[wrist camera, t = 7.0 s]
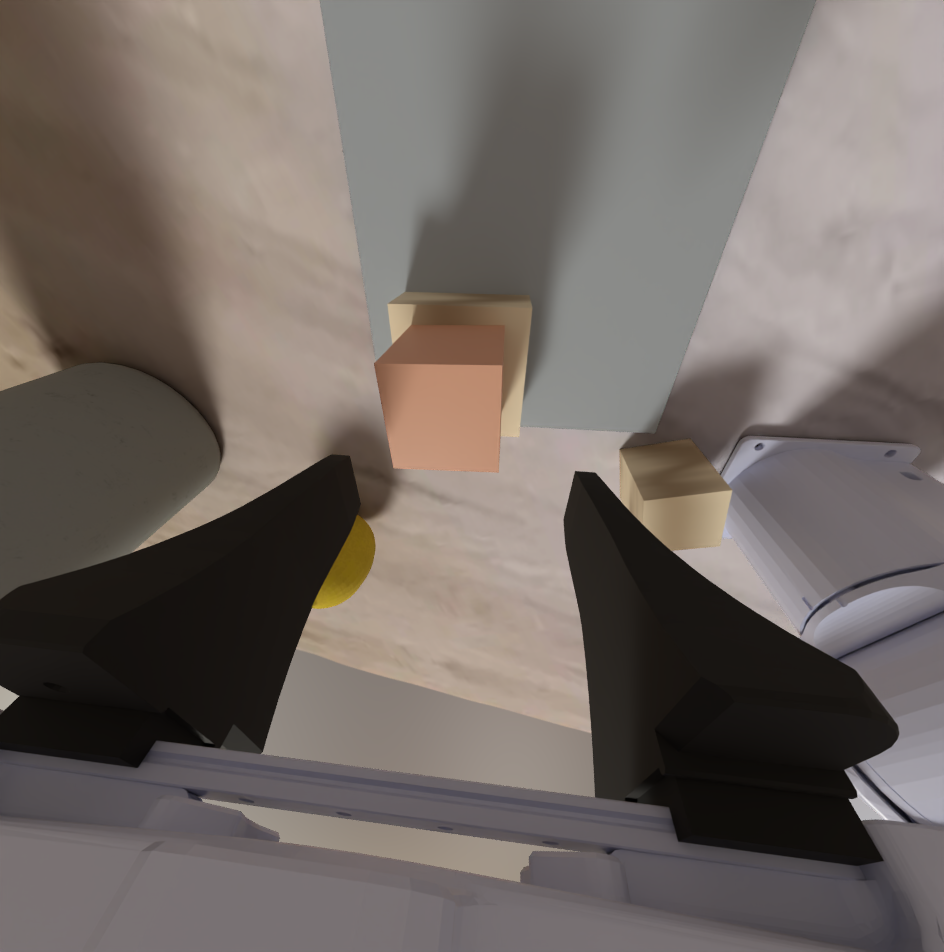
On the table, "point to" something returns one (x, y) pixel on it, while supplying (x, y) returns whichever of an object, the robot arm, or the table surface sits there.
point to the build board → (559, 171)
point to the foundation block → (476, 312)
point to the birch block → (675, 493)
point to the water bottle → (93, 468)
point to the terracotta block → (444, 397)
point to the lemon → (348, 567)
